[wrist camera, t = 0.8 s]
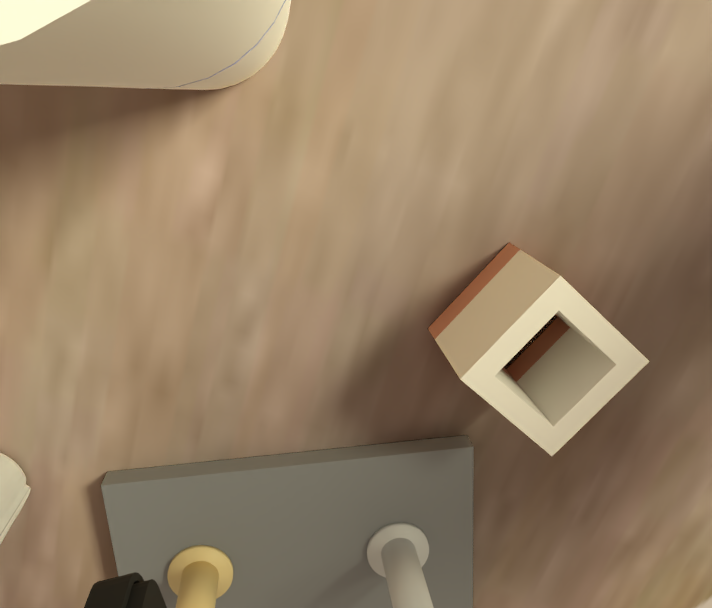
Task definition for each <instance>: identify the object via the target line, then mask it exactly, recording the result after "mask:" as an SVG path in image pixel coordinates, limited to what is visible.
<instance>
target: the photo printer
mask: <svg viewBox="0 0 712 608" xmlns="http://www.w3.org/2000/svg"><path fill="white" fill-rule="evenodd" d="M30 491H31V488H30V487H29V486H28V485H26V477H25V474H24V473H23V471H22V469H21V468H20V467H19V465H18V464H17V463H16V462H15V461H13V460H12V459H11V458H9V457H8V456H6V455H4V454H2V453H0V544H1V543H2V541H3V539H4V538H5V536H6V534H7V533H8V531H9V529H10V528H11V526H12V524H13V522H14V521H15V519H16V518H17V516H18V514H19V513H20V511H21V509H22V507H23V506H24V504H25V502H26V500H27V498H28V496H29V494H30Z"/></svg>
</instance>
